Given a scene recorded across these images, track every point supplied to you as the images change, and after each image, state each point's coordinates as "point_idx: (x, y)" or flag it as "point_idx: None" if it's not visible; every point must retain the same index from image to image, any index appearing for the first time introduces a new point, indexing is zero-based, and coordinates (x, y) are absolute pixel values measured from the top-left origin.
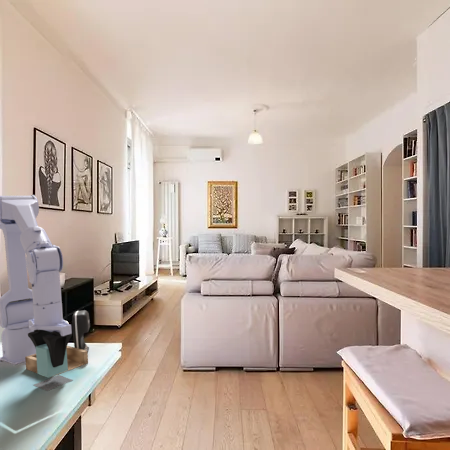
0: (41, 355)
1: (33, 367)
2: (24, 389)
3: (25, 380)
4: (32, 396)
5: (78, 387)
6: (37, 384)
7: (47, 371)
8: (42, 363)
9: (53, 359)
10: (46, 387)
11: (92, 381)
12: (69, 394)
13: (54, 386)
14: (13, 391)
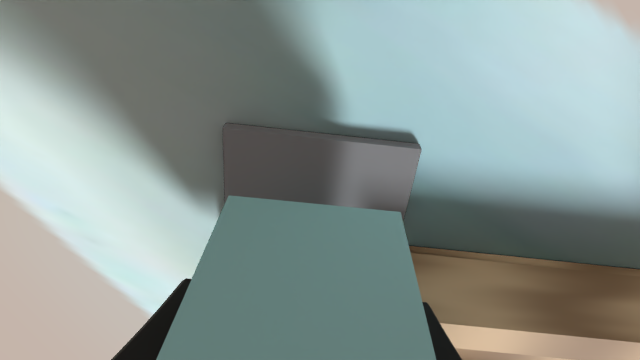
0: (300, 351)
1: (629, 295)
2: (446, 94)
3: (576, 186)
4: (269, 45)
5: (128, 236)
6: (395, 166)
7: (221, 226)
8: (297, 276)
9: (135, 337)
10: (280, 159)
11: (139, 301)
12: (73, 162)
13: (245, 187)
14: (507, 36)
